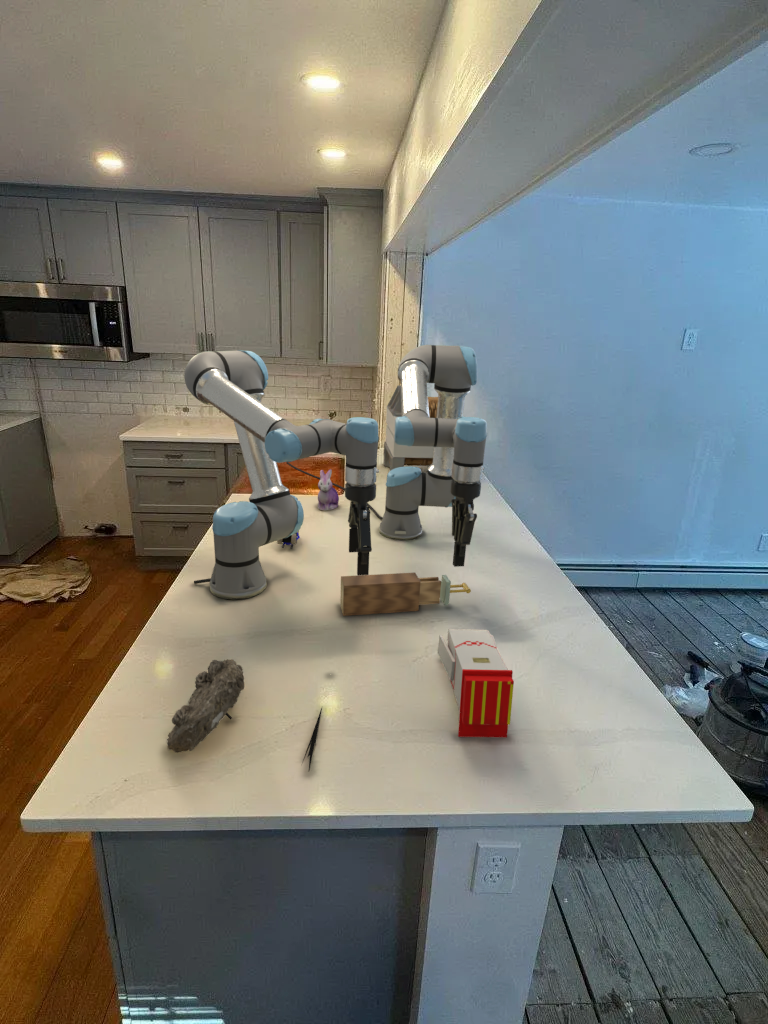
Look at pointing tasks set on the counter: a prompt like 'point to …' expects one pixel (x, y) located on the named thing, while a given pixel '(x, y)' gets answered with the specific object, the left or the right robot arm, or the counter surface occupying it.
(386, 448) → the transformer
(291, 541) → the figurine character
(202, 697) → the fossil
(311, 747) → the feather
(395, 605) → the cabinet
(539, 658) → the counter surface
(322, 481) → the figurine
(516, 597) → the counter surface
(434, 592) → the drawer
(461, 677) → the toy
